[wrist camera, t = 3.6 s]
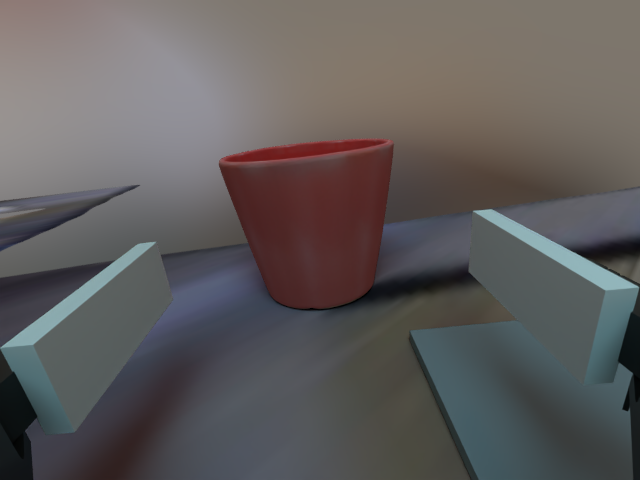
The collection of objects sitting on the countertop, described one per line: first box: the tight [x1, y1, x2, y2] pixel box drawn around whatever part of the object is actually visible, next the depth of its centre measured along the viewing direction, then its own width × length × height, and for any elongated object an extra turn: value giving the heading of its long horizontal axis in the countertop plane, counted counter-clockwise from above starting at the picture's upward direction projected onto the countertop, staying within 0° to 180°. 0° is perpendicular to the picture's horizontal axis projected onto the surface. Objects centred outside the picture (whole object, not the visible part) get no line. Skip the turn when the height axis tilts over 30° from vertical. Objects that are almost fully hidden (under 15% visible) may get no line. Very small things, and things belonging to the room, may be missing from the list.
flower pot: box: [219, 139, 394, 309], centre depth 23 cm, size 11×11×10 cm
